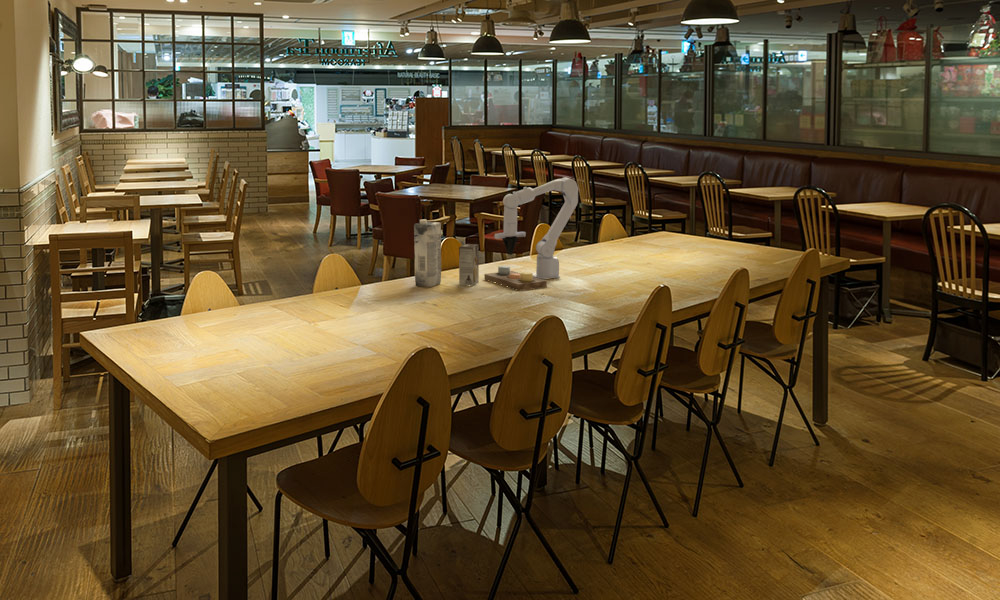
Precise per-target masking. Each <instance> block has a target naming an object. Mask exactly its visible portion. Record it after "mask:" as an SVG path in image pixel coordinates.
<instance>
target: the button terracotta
mask: <svg viewBox="0 0 1000 600" xmlns="http://www.w3.org/2000/svg"><path fill="white" fill-rule="evenodd" d="M509 278H511V279H519V278H521V274H516V273H514V274H509Z"/></svg>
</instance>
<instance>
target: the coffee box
mask: <svg viewBox="0 0 1000 600" xmlns="http://www.w3.org/2000/svg"><path fill="white" fill-rule="evenodd" d="M479 252H480V251H479V244H478V243H477V244H476V243H474V244H473V243H465V244H462V245H460V246H459V247H458V257H459V258H458V259H459V260H458V261H459V262H458V266H459V267H458V273H459V275H458V276H459V277H458V278H459V279H458V281H459V283H458V284H459V286H465V285H468V286H469V285H470V286H469V287H474V286H475V285H476V284H478V283H479V281H480V277H479V276H480V275H479V274H480V273H479V267H480V266H479V263H480V262H479V260H480V259H479ZM477 282H478V283H477ZM468 286H467V287H468Z"/></svg>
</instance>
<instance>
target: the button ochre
mask: <svg viewBox="0 0 1000 600" xmlns="http://www.w3.org/2000/svg"><path fill="white" fill-rule="evenodd" d="M520 273H521V278H520V281H521V282H524V283H527V282H533V275H534V274H533V272H526V271H525V272H520Z"/></svg>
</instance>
